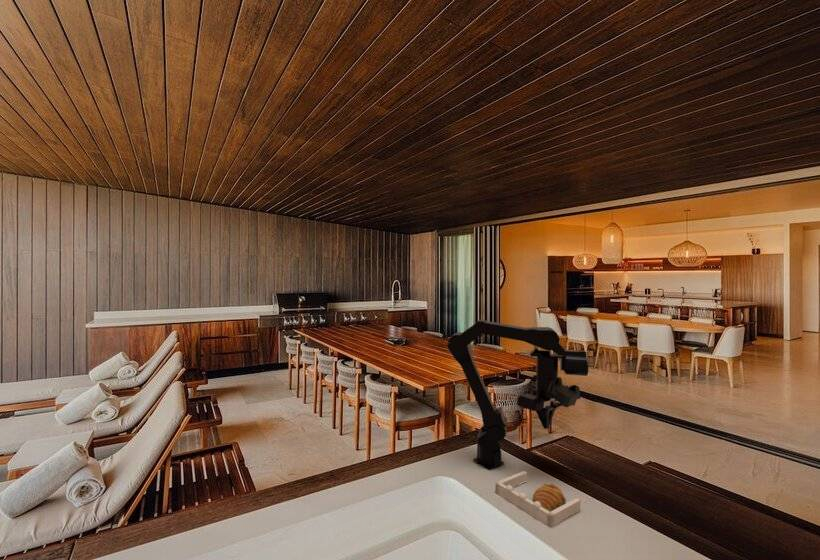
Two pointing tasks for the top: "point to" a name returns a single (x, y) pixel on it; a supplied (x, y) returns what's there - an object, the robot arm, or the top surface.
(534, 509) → the frame
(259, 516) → the top surface
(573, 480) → the top surface
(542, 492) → the pastry
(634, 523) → the top surface
